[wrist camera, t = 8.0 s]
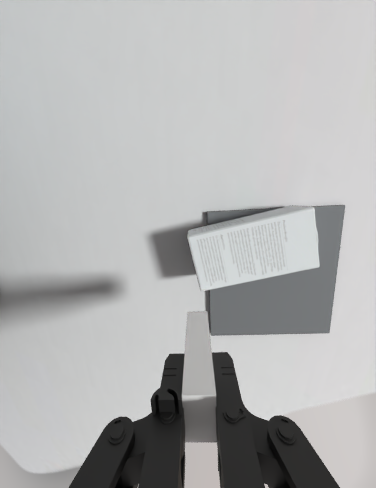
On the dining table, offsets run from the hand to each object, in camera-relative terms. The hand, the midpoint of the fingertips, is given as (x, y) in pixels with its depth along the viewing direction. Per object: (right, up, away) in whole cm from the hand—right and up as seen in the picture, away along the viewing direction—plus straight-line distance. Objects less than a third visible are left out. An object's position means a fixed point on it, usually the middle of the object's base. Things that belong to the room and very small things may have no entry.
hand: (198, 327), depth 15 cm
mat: (+9, +3, +9) cm, 13 cm away
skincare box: (0, +5, +6) cm, 8 cm away
